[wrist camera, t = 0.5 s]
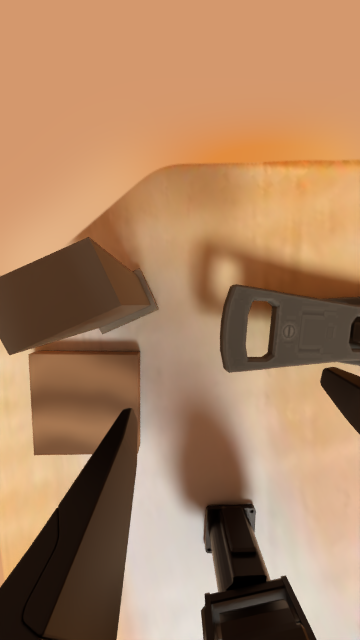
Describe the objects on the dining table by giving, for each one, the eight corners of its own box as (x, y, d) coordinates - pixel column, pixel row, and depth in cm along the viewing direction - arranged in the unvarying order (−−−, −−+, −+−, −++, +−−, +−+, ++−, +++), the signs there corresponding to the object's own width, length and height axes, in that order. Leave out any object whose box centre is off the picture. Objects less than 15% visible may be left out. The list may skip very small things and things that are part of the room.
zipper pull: (227, 275, 15) (504, 293, 16) (210, 285, 21) (405, 296, 22) (219, 380, 15) (484, 390, 16) (205, 357, 22) (394, 365, 23)
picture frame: (158, 309, 21) (137, 314, 9) (105, 332, 21) (7, 372, 9) (140, 270, 21) (91, 217, 8) (86, 294, 21) (-46, 278, 8)
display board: (140, 443, 22) (137, 453, 21) (43, 444, 22) (34, 455, 20) (140, 351, 21) (137, 355, 20) (38, 350, 21) (28, 354, 19)
